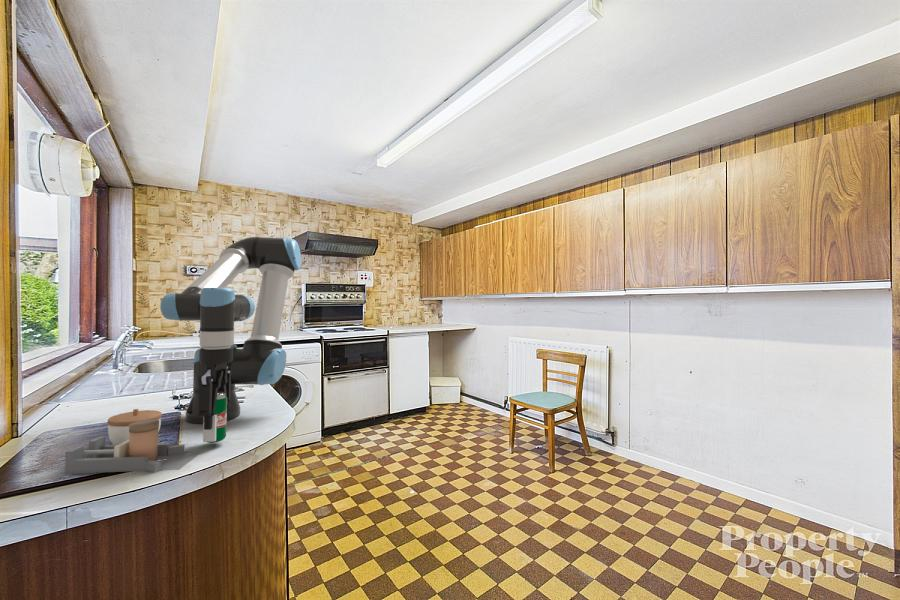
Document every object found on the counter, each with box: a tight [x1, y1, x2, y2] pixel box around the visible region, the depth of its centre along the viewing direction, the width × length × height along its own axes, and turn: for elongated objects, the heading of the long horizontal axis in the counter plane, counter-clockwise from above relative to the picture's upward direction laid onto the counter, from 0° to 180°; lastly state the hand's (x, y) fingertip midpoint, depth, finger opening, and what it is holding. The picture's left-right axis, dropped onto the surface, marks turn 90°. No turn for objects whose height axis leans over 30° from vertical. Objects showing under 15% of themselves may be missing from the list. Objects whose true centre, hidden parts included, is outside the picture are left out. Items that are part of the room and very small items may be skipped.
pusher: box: [84, 440, 129, 457], centre depth 86 cm, size 6×11×4 cm, turn 99°
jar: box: [129, 419, 160, 461], centre depth 87 cm, size 5×5×9 cm
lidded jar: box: [107, 408, 163, 445], centre depth 98 cm, size 11×11×9 cm
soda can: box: [206, 392, 228, 444], centre depth 98 cm, size 5×5×12 cm
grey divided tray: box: [64, 435, 201, 475], centre depth 87 cm, size 12×22×5 cm, turn 99°
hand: (214, 436), depth 98 cm, fingers closed on soda can, 5 cm apart
